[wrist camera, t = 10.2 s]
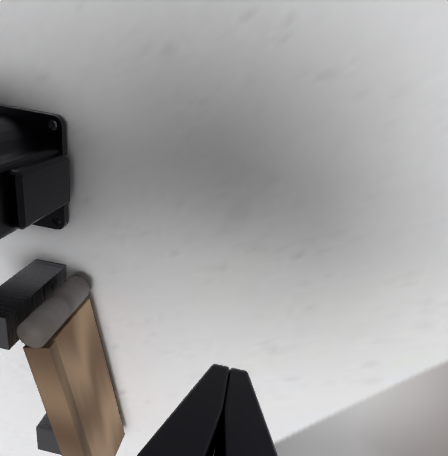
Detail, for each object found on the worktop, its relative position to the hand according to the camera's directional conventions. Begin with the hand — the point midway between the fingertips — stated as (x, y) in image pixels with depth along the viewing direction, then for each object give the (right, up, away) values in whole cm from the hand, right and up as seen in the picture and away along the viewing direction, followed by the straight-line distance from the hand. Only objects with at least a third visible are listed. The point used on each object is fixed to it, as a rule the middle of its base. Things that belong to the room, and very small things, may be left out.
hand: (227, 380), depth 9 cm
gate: (-9, -6, +16) cm, 19 cm away
